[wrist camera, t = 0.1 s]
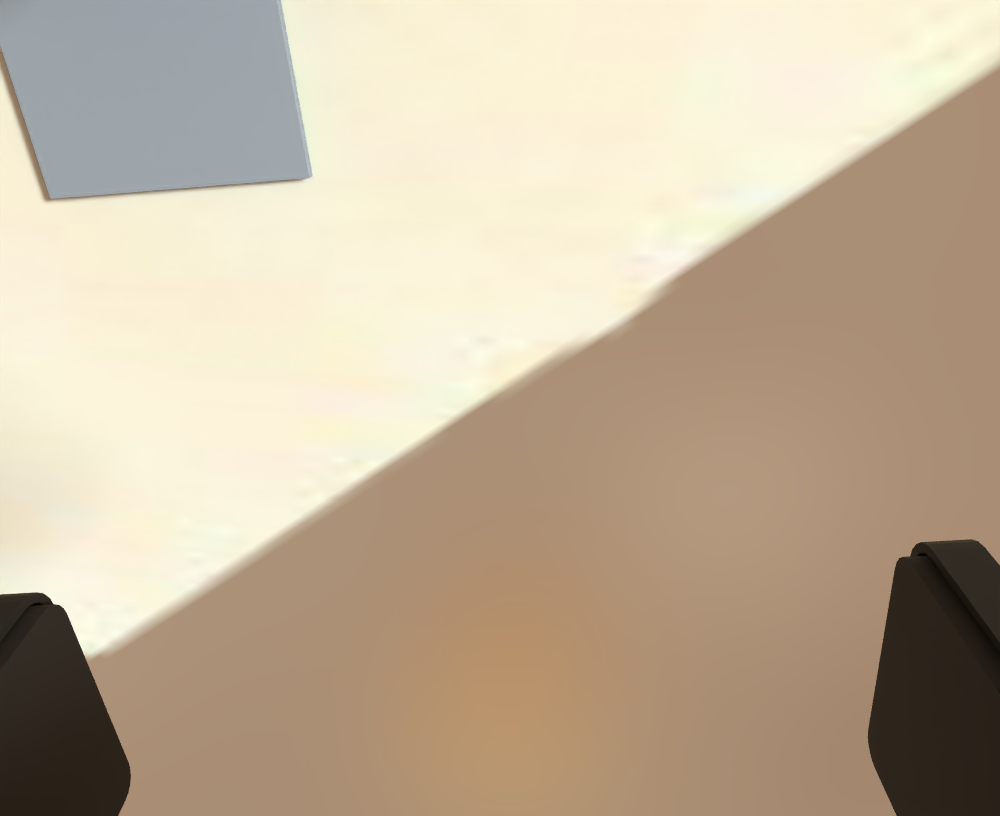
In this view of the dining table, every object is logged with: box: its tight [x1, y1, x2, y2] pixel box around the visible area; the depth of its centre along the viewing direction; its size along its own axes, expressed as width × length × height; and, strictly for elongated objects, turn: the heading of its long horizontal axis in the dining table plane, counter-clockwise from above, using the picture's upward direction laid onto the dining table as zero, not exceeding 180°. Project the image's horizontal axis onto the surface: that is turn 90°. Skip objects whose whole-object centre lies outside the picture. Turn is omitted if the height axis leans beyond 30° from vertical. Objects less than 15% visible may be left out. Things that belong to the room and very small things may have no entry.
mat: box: [0, 0, 312, 199], centre depth 36 cm, size 10×12×1 cm
